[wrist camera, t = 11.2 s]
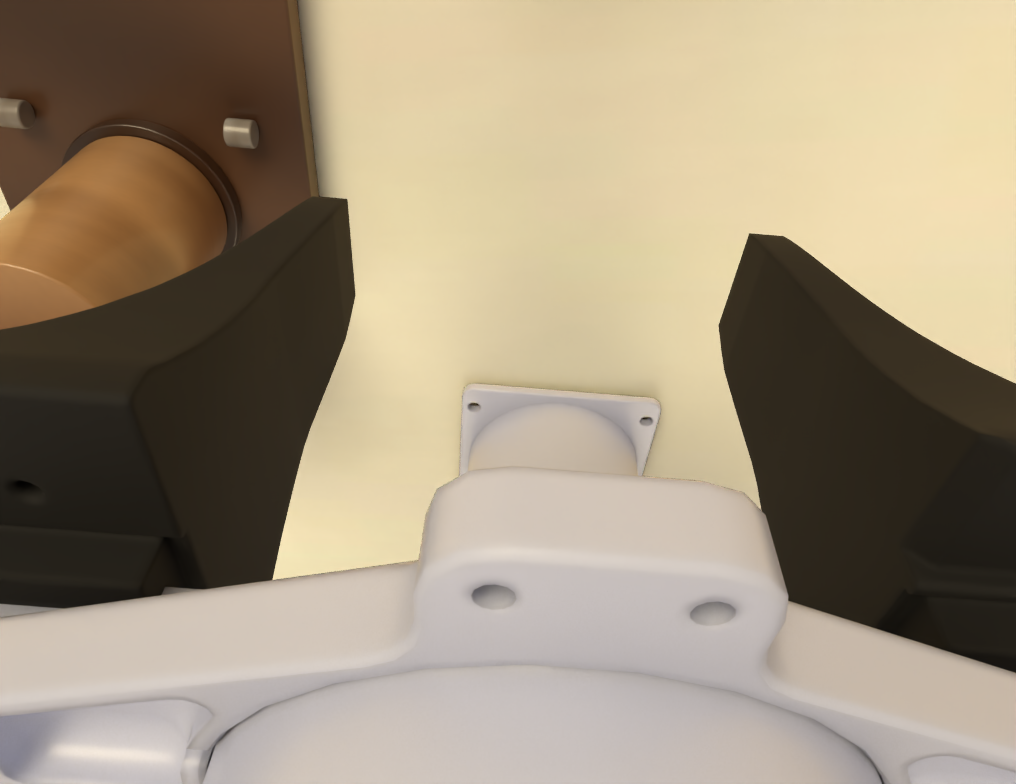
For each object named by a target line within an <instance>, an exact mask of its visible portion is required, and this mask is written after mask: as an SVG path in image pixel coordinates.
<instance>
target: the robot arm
mask: <svg viewBox="0 0 1016 784" xmlns="http://www.w3.org/2000/svg"><path fill="white" fill-rule="evenodd" d="M354 299H355V285H354V273H353V262H352V250H351V238H350V226H349V214H348V202H347V199H340V198H329V197H317V196H312V197H310V198H309V199H307V200H305V201H303V202H302V203H300V204H299V205H297V206H296V207H294V208H292V209H291V210H290V211H288V212H287V213H285V214H284V215H282V216H281V217H279V218H278V219H276V220H275V221H273V222H272V223H270V224H269V225H267V226H266V227H264V228H263V229H261V230H259V231H258V232H256V233H255V234H253V235H252V236H250V237H249V238H247V239H246V240H244V241H242V242H241V243H239V244H237V245H235V246H234V247H232V248H230V249H229V250H227V251H225V252H223V253H222V254H220V255H218V256H216V257H215V258H213V259H211V260H210V261H208V262H206V263H204V264H202V265H200V266H198V267H196V268H194V269H192V270H190V271H188V272H186V273H184V274H182V275H180V276H178V277H175V278H173V279H171V280H169V281H166V282H164V283H162V284H159V285H157V286H155V287H152V288H150V289H147V290H144V291H141V292H138V293H135V294H133V295H130V296H127V297H124V298H121V299H118V300H116V301H113V302H110V303H107V304H104V305H101V306H98V307H95V308H91V309H88V310H84V311H80V312H77V313H73V314H70V315H66V316H62V317H58V318H54V319H49V320H45V321H41V322H37V323H32V324H28V325H23V326H18V327H12V328H6V329H1V330H0V784H1016V384H1015V383H1013V382H1011V381H1009V380H1006V379H1004V378H1002V377H1000V376H998V375H996V374H994V373H991V372H989V371H987V370H985V369H983V368H981V367H979V366H977V365H974V364H972V363H971V362H969V361H967V360H965V359H963V358H961V357H959V356H957V355H955V354H953V353H951V352H950V351H948V350H946V349H944V348H943V347H941V346H939V345H937V344H936V343H934V342H932V341H930V340H929V339H927V338H925V337H923V336H922V335H920V334H918V333H917V332H915V331H914V330H912V329H910V328H909V327H907V326H906V325H904V324H903V323H901V322H900V321H898V320H897V319H895V318H894V317H892V316H891V315H889V314H888V313H886V312H885V311H884V310H882V309H881V308H879V307H878V306H876V305H875V304H874V303H872V302H871V301H869V300H868V299H867V298H865V297H864V296H863V295H861V294H860V293H859V292H857V291H856V290H855V289H853V288H852V287H851V286H849V285H848V284H847V283H846V282H844V281H843V280H842V279H840V278H839V277H838V276H837V275H835V274H834V273H833V272H832V271H830V270H829V269H828V268H826V267H825V266H824V265H823V264H821V263H820V262H819V261H818V260H816V259H815V258H814V257H812V256H811V255H810V254H809V253H807V252H806V251H805V250H803V249H802V248H801V247H799V246H798V245H796V244H795V243H793V242H792V241H790V240H789V239H787V238H785V237H784V236H774V235H762V234H750V233H749V236H748V239H747V242H746V245H745V248H744V251H743V254H742V257H741V260H740V263H739V266H738V269H737V272H736V275H735V278H734V281H733V284H732V287H731V290H730V293H729V296H728V299H727V302H726V305H725V308H724V311H723V314H722V317H721V320H720V323H719V332H720V341H721V350H722V357H723V364H724V370H725V374H726V378H727V381H728V385H729V388H730V392H731V395H732V398H733V402H734V405H735V409H736V412H737V415H738V418H739V422H740V425H741V428H742V432H743V435H744V438H745V442H746V445H747V448H748V451H749V455H750V458H751V461H752V465H753V469H754V473H755V477H756V481H757V486H758V492H759V498H760V504H761V510H762V511H761V510H760V509H759V508H758V507H757V506H756V505H755V504H754V503H753V501H752V500H751V499H750V498H749V497H748V496H747V495H746V494H745V493H743V492H740V491H736V490H732V489H729V488H725V487H721V486H718V485H714V484H711V483H707V482H703V481H696V480H684V479H671V478H659V477H646V476H642V475H643V472H644V468H645V465H646V462H647V458H648V455H649V451H650V448H651V445H652V441H653V438H654V435H655V431H656V428H657V424H658V421H659V418H660V414H661V406H660V403H659V401H658V400H656V399H654V398H649V397H637V396H625V395H612V394H600V393H588V392H575V391H563V390H551V389H539V388H526V387H514V386H502V385H489V384H477V383H475V384H469V385H467V386H466V387H465V388H464V390H463V395H462V417H461V442H460V468H459V477H457V478H456V479H454V480H452V481H450V482H449V483H447V484H445V485H443V486H441V487H440V488H438V489H437V490H436V492H435V494H434V497H433V499H432V501H431V504H430V506H429V508H428V511H427V513H426V516H425V522H424V529H423V535H422V541H421V547H420V554H419V560H416V561H409V562H401V563H394V564H387V565H379V566H372V567H365V568H357V569H350V570H343V571H335V572H328V573H321V574H314V575H306V576H299V577H292V578H284V579H277V580H272V578H273V574H274V569H275V564H276V560H277V555H278V551H279V546H280V541H281V537H282V532H283V528H284V524H285V520H286V516H287V512H288V507H289V503H290V499H291V495H292V491H293V487H294V483H295V479H296V475H297V471H298V468H299V464H300V460H301V456H302V452H303V449H304V445H305V442H306V439H307V437H308V434H309V431H310V428H311V425H312V423H313V420H314V418H315V415H316V413H317V410H318V408H319V405H320V403H321V400H322V398H323V395H324V393H325V390H326V388H327V385H328V383H329V380H330V378H331V375H332V373H333V370H334V367H335V365H336V362H337V360H338V357H339V355H340V352H341V349H342V347H343V344H344V341H345V339H346V335H347V330H348V326H349V322H350V318H351V313H352V309H353V304H354ZM470 403H477V404H479V405H477V406H474V405H471V404H470ZM643 417H650V418H648V419H641V418H643Z"/></svg>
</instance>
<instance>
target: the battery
mask: <svg viewBox="0 0 1016 784" xmlns="http://www.w3.org/2000/svg"><path fill="white" fill-rule="evenodd" d="M241 230H242V216H241V209H240V205H239V202H238V198H237V196H236V193H235V191H234V189H233V187H232V185H231V183H230V181H229V179H228V178H227V176H226V175H225V174H224V172H223V171H222V169H221V168H220V167H219V166H218V165H217V163H216V162H215V161H214V160H213V159H212V158H211V157H210V156H209V155H208V154H207V153H206V152H205V151H204V150H203V149H201V148H200V147H199V146H197V145H196V144H195V143H194V142H192V141H191V140H189V139H187V138H186V137H184V136H183V135H181V134H179V133H177V132H175V131H173V130H171V129H169V128H166V127H164V126H161V125H159V124H155V123H152V122H148V121H143V120H136V119H114V120H108V121H104V122H101V123H98V124H96V125H94V126H92V127H90V128H89V129H87V130H86V131H84V132H83V133H82V134H81V135H79V136H78V137H77V138H76V139H75V140H74V141H73V142H72V143H71V144H70V146H69V147H68V149H67V151H66V152H65V155H64V157H63V160H62V165H61V168H60V169H58V170H57V171H56V172H55V173H54V174H53V175H52V176H50V177H49V178H48V179H47V180H46V181H45V182H43V183H42V184H41V185H40V186H39V187H38V188H37V189H35V190H34V191H33V192H32V193H31V194H30V195H29V196H27V197H26V198H25V199H24V200H23V201H22V202H20V203H19V204H18V205H17V206H16V207H15V208H14V209H12V210H11V211H10V212H9V213H8V214H7V215H5V216H4V217H3V218H2V219H1V220H0V330H1V329H6V328H12V327H18V326H23V325H28V324H32V323H37V322H41V321H45V320H49V319H54V318H58V317H62V316H66V315H70V314H73V313H77V312H80V311H84V310H88V309H91V308H95V307H98V306H101V305H104V304H107V303H110V302H113V301H116V300H118V299H121V298H124V297H127V296H130V295H133V294H135V293H138V292H141V291H144V290H147V289H150V288H152V287H155V286H157V285H159V284H162V283H164V282H166V281H169V280H171V279H173V278H175V277H178V276H180V275H182V274H184V273H186V272H188V271H190V270H192V269H194V268H196V267H198V266H200V265H202V264H204V263H206V262H208V261H210V260H211V259H213V258H215V257H216V256H218V255H220V254H222V253H223V252H225V251H227V250H229V249H230V248H232V247H234V246H235V245H237V244H238V242H239V239H240V235H241Z"/></svg>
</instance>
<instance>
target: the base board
mask: <svg viewBox="0 0 1016 784" xmlns="http://www.w3.org/2000/svg"><path fill="white" fill-rule="evenodd" d="M114 119H136V120H143V121H148V122H152V123H155V124H159V125H161V126H164V127H166V128H169V129H171V130H173V131H175V132H177V133H179V134H181V135H183V136H184V137H186V138H187V139H189V140H191V141H192V142H194V143H195V144H196V145H197V146H199V147H200V148H201V149H203V150H204V151H205V152H206V153H207V154H208V155H209V156H210V157H211V158H212V159H213V160H214V161H215V162H216V163H217V165H218V166H219V167H220V168H221V169H222V171H223V172H224V174H225V175H226V176H227V178H228V179H229V181H230V183H231V185H232V187H233V189H234V191H235V193H236V196H237V198H238V202H239V205H240V209H241V216H242V230H241V235H240V239H239V242H238V244H239V243H241V242H242V241H244V240H246V239H247V238H249V237H250V236H252V235H253V234H255V233H256V232H258V231H259V230H261V229H263V228H264V227H266V226H267V225H269V224H270V223H272V222H273V221H275V220H276V219H278V218H279V217H281V216H282V215H284V214H285V213H287V212H288V211H290V210H291V209H292V208H294V207H296V206H297V205H299V204H300V203H302V202H303V201H305V200H307V199H309V198H310V197H312V196H317V197H319V192H318V183H317V174H316V165H315V156H314V147H313V139H312V130H311V121H310V112H309V103H308V94H307V85H306V77H305V68H304V59H303V50H302V41H301V32H300V23H299V15H298V6H297V0H0V187H1V190H2V192H3V194H4V197H5V199H6V201H7V204H8V206H9V208H10V211H11V210H12V209H14V208H15V207H16V206H17V205H18V204H19V203H20V202H22V201H23V200H24V199H25V198H26V197H27V196H29V195H30V194H31V193H32V192H33V191H34V190H35V189H37V188H38V187H39V186H40V185H41V184H42V183H43V182H45V181H46V180H47V179H48V178H49V177H50V176H52V175H53V174H54V173H55V172H56V171H57V170H58V169H60V168H61V165H62V160H63V157H64V155H65V152H66V151H67V149H68V147H69V146H70V144H71V143H72V142H73V141H74V140H75V139H76V138H77V137H78V136H79V135H81V134H82V133H83V132H84V131H86V130H87V129H89V128H90V127H92V126H94V125H96V124H98V123H101V122H104V121H108V120H114Z"/></svg>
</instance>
